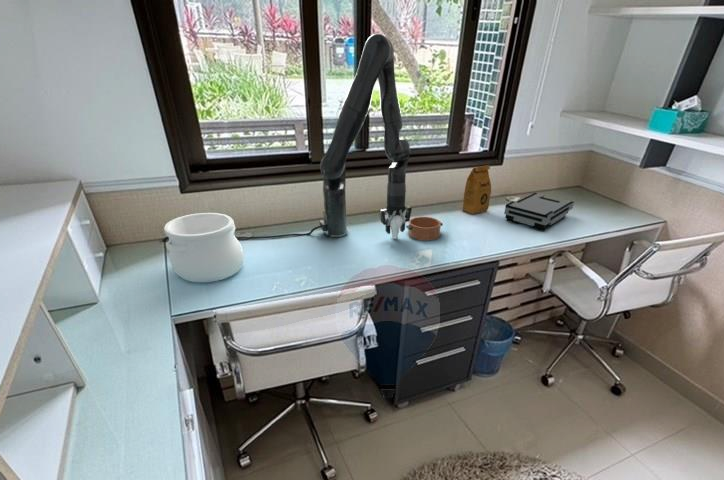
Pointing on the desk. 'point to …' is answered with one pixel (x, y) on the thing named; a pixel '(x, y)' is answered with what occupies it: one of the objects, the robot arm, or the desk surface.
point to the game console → (537, 211)
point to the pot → (204, 247)
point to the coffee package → (477, 190)
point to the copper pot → (424, 228)
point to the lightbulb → (396, 225)
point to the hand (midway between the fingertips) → (395, 232)
